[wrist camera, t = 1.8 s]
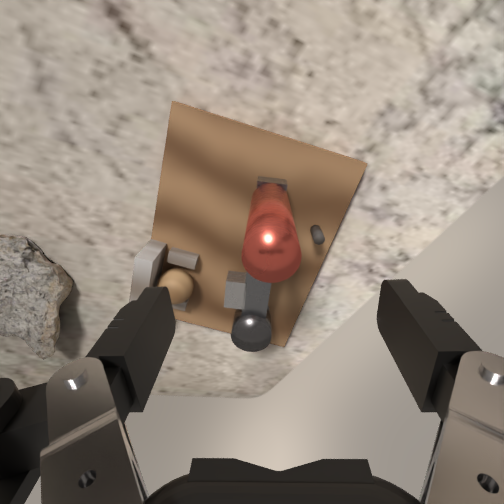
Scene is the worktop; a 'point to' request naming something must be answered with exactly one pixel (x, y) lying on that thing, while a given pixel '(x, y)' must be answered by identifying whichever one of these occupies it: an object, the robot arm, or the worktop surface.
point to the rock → (30, 294)
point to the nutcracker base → (238, 212)
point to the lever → (262, 263)
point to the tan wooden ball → (177, 284)
